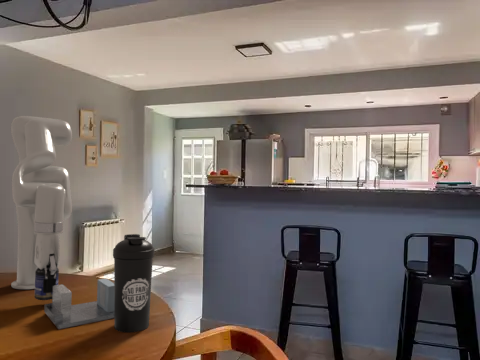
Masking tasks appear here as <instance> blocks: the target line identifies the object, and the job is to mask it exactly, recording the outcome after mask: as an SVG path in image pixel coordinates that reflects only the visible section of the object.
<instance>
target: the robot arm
mask: <svg viewBox="0 0 480 360" xmlns="http://www.w3.org/2000/svg"><path fill="white" fill-rule="evenodd" d="M10 127H11V128H10V131H11V138H12V141H13V144H14V147H15V149H16V151H17V153H18V154H17V155H18V158H19V161H18V162H19V163H18V164H17V166H16V167H15V168H14V171H13V172H12V177H11V179H12V180H11V188H12V201H13V203H14V204H15V211H16V218H17V258H16V259H17V261H16V262H17V266H16V268H17V269H16V280H14V281H12V282H11V288H12V289H16V290H35V272H36V269H37V268H39V269H41V270H42V269H43V268H44V274H45V279H43V293H49V292H53V286H54V285H56V268H59V266H60V242H61V241H60V234H62V233H63V232H64V220H68V219H69V218H70V217H71V216H72V213H73V212H72V211H73V201H72V191H71V178H70V173H69V171H68V170H67V169H66V168H65V167H62V166H56V165H55V166H54V165H53V164H54V163H55V162H56V160H57V152H56V146H69V145H70V144H71V143H72V140H73V131H72V128H71V125H70V123H69V122H68V121H65V120H63V119H58V118H51V117H48V118H47V117H41V116H33V115H31V116H30V115H20V116H16V117H14V118H13V120H12V122H11V124H10ZM55 262H56V264H55ZM46 266H50V267H49V268H47V267H46ZM47 270H50V271H48V274H47Z"/></svg>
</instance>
